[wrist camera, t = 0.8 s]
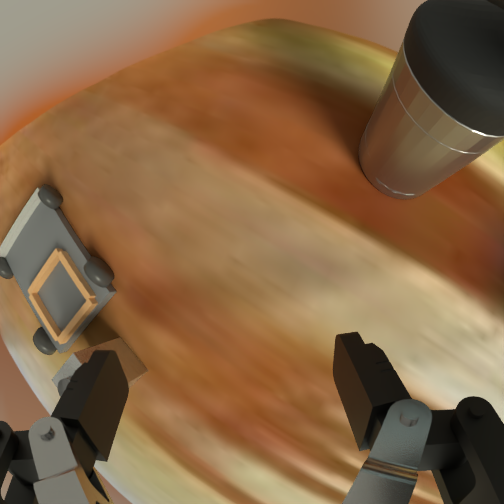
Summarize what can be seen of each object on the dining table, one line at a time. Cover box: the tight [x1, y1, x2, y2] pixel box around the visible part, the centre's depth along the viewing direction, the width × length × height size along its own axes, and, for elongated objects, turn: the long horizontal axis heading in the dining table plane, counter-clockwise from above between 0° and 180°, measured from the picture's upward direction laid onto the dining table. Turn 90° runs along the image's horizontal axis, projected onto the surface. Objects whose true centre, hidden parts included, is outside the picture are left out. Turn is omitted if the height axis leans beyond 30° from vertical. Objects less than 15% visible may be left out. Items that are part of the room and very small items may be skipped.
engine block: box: [52, 337, 148, 397], centre depth 28 cm, size 5×5×10 cm
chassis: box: [0, 184, 116, 355], centre depth 34 cm, size 18×14×4 cm
